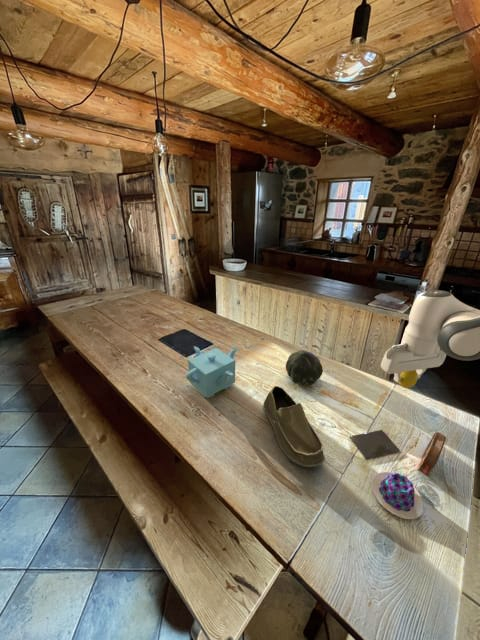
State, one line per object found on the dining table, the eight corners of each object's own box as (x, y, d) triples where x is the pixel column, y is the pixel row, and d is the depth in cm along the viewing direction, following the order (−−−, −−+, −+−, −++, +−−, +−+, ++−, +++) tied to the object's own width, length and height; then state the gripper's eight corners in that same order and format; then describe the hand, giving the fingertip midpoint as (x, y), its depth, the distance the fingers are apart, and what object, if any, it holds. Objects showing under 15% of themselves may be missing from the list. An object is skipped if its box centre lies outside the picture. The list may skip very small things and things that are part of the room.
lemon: (395, 390, 86) (401, 369, 82) (393, 380, 91) (399, 360, 87) (414, 394, 84) (422, 373, 81) (412, 384, 89) (419, 364, 85)
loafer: (300, 480, 73) (304, 454, 68) (253, 406, 98) (254, 384, 93) (332, 465, 77) (338, 440, 72) (279, 398, 102) (281, 376, 97)
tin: (428, 444, 84) (437, 424, 81) (439, 450, 82) (449, 430, 79) (414, 475, 75) (423, 455, 71) (426, 483, 73) (437, 463, 69)
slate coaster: (381, 430, 89) (381, 429, 88) (399, 451, 82) (400, 450, 81) (349, 437, 86) (350, 436, 86) (365, 459, 79) (366, 457, 79)
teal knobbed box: (185, 400, 100) (181, 368, 94) (195, 370, 117) (193, 341, 110) (234, 403, 99) (235, 371, 93) (238, 372, 116) (238, 343, 110)
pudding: (368, 468, 76) (372, 456, 74) (415, 480, 73) (421, 468, 71) (374, 511, 66) (379, 498, 64) (429, 528, 63) (436, 515, 61)
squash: (314, 355, 120) (298, 336, 112) (334, 375, 107) (318, 357, 99) (291, 375, 121) (273, 359, 113) (308, 398, 109) (289, 382, 100)
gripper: (397, 351, 75) (385, 390, 81) (455, 343, 79) (440, 381, 85) (381, 340, 81) (371, 377, 87) (437, 334, 85) (424, 369, 91)
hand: (406, 379), depth 86 cm, fingers closed on lemon, 5 cm apart
